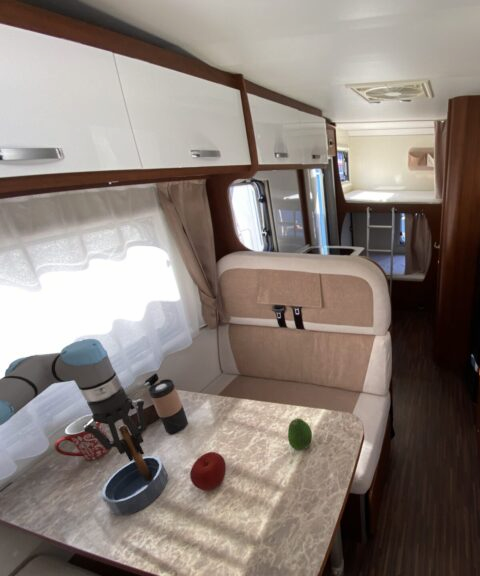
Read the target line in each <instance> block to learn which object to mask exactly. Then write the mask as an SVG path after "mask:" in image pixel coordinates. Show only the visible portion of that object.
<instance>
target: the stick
mask: <svg viewBox="0 0 480 576" xmlns="http://www.w3.org/2000/svg"><path fill="white" fill-rule="evenodd" d="M117 431H118V432H119V434H120V436H121V438H122V439H123V440H124V441H125V443H126V445H127V447H128V449H129V451H130V453H131V455H132V458H133V461H135V463H136V465H137V467H138V469H139V471H140V473H141V475H142V477H143V479H144V481H145V482H149V481H151V479H152V475H151V473H150V471H149V469H148V467H147V465H146V463H145V461H144V459H143V457H144V456H143V454H142V455H141V454H140V452H139V450H138V448H137V446H136V444H135V442H134V440H133V438H132V435H131V433H130V431H129V429H128V427H127V425H125V424H121V425H120V426H119V427H118V429H117Z"/></svg>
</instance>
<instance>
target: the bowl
mask: <svg viewBox="0 0 480 576" xmlns="http://www.w3.org/2000/svg"><path fill="white" fill-rule="evenodd" d="M142 457H143V459H144V461H145V463H146V465H147V467H148V469H149V471H150V473H151V475H152V479H151V481H149V482H145V481H144V479H143V477H142V475H141V473H140V471H139V469H138V467H137V465H136V463H135V461H134V460H132V461H129V462H127V464H124V465H123V466H122V467H121V468H119V469H118V470H117V471H115V472H114V473H113V474H112V475H111V476H110V477H109V478H108V479H107V480H106V482H105V484H104V485H103V487H102V491H101V498H102V500H103V502H104V504H105V505H106V507H107V508H108V511H109V512H110V513H112V514H113V515H115V516H127V515H130V514H131V515H132V514H133V513H136V512H137V511H140V510H142V509H144V508H145V507H146V506H148V505H149V504H151V503H152V502H153V501H154V500H155V499H157V498H158V496H159V495H160V494H161V492H162V491H163V490H164V489H165V487H166V485H167V483H168V479H169V473H168V472H167V470H166V468H165V466H164V464H163V461H162V460H161V458H160V457H158V456H155V455H146V456H142Z"/></svg>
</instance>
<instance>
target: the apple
mask: <svg viewBox="0 0 480 576" xmlns="http://www.w3.org/2000/svg"><path fill="white" fill-rule="evenodd" d="M226 466H227V465H226V460H225V458H224V457H223V456H222V454H220V453H218V452H217V451H216V452H215V451H209V452H206V453H204V454H202V455H201V456H200V457H198V458H197V459H196V460H195V461H194V463H193V464H192V466H191V469H190V471H189V478H190V481H191V483H192V485H193V486H194V487H196V489H198V490H201V491H210V490H213V489H215V488H217V487H218V486H219V485H221V484H222V482H223V481H224V479H225V476H226V471H227V468H226Z"/></svg>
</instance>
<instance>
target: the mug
mask: <svg viewBox="0 0 480 576" xmlns="http://www.w3.org/2000/svg"><path fill="white" fill-rule="evenodd" d="M92 416H93V413H91V414H87V415H84V416H82V417H80V418H77V419H76V420H74V421H73V422H71V423H70V424H68V426H66V428H65V430H64V433H65V435H66V436H62V437H61V438H59V439H57V440H56V441H55V443H54V449H55V451H56V452H57V453H59V454H61V455H64V456H67V457H68V456H69V457H80V458H81V457H82V458H84V460H86V461H96V460H98V459H100V458H101V457H103V456H105V455H106V454H107V453H108V452H109V451H111V449H109V450H107V449H106V448H105V447H104V446H103V445H102V444H101V443H100V442H99V441H98V440H97V439H96V437H95V436H94V435H93V434H92V433H89V432H86V431H85V430H84V426H83V425H84V424H85V423H88V422H89V421H91V420H92V419H93V418H92ZM96 424H97V427H98V428H99V429H100V431H101V432H102V433H103V434H104V435H105V436H106V437H107V438H108V439H109V440H110V438H109V436H108V434H107V431H106V428H105V426H104V423H100V422H96ZM65 441H67V442H70V443H73V444H74V446H75V447H76V449H77V450H78V451H75V452H72V451H67V450H62V449H61V448H60V447H59V445H60V444H61V443H62V442H65Z"/></svg>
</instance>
